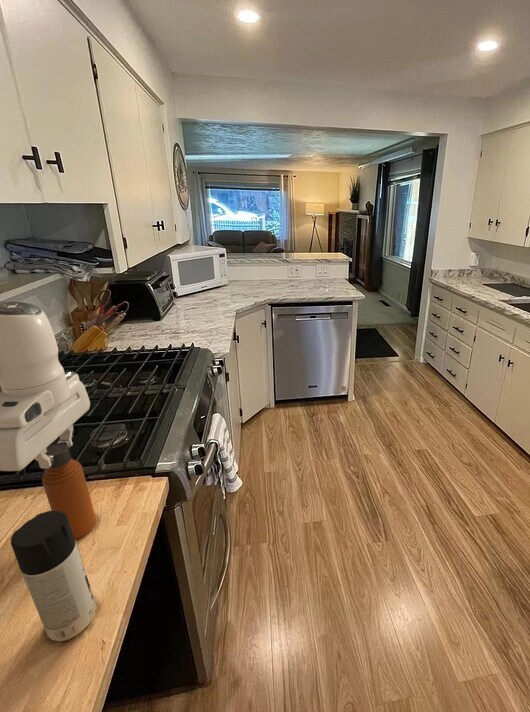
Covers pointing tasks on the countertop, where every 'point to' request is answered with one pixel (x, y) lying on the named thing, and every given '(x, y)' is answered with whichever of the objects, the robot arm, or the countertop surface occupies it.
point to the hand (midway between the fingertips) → (57, 456)
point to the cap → (59, 454)
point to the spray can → (54, 574)
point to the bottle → (70, 496)
